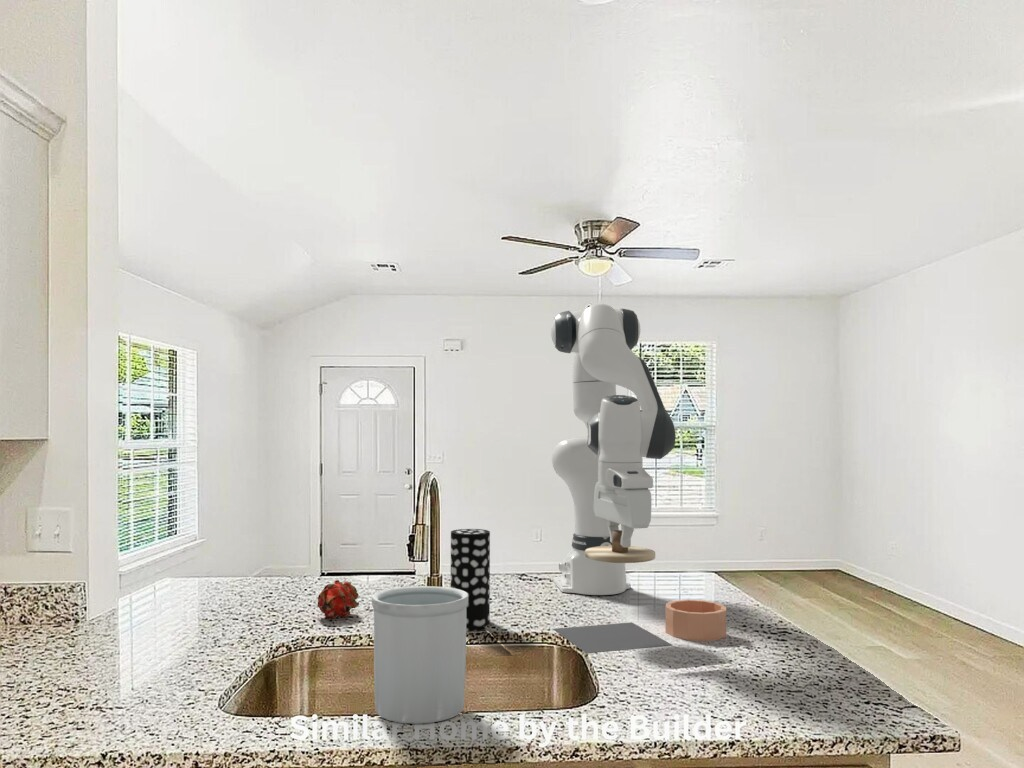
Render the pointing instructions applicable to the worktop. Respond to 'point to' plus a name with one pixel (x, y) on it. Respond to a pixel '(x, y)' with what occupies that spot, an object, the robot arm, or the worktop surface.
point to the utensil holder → (419, 653)
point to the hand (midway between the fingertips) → (620, 545)
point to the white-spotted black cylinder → (472, 573)
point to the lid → (619, 552)
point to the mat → (611, 637)
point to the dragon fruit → (337, 599)
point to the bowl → (696, 620)
